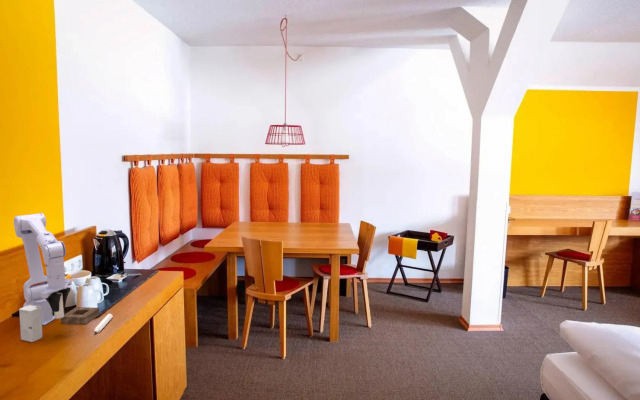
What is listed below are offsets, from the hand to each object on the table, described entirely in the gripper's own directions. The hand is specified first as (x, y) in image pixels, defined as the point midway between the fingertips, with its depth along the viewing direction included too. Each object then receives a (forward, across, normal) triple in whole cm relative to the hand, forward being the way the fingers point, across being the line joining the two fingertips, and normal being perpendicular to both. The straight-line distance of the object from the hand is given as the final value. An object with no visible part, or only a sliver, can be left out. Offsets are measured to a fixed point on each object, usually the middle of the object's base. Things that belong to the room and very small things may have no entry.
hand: (58, 309), depth 161 cm
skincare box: (+11, -3, +9) cm, 14 cm away
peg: (+3, 0, 0) cm, 3 cm away
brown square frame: (+10, +15, +2) cm, 18 cm away
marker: (+11, +9, -11) cm, 18 cm away
